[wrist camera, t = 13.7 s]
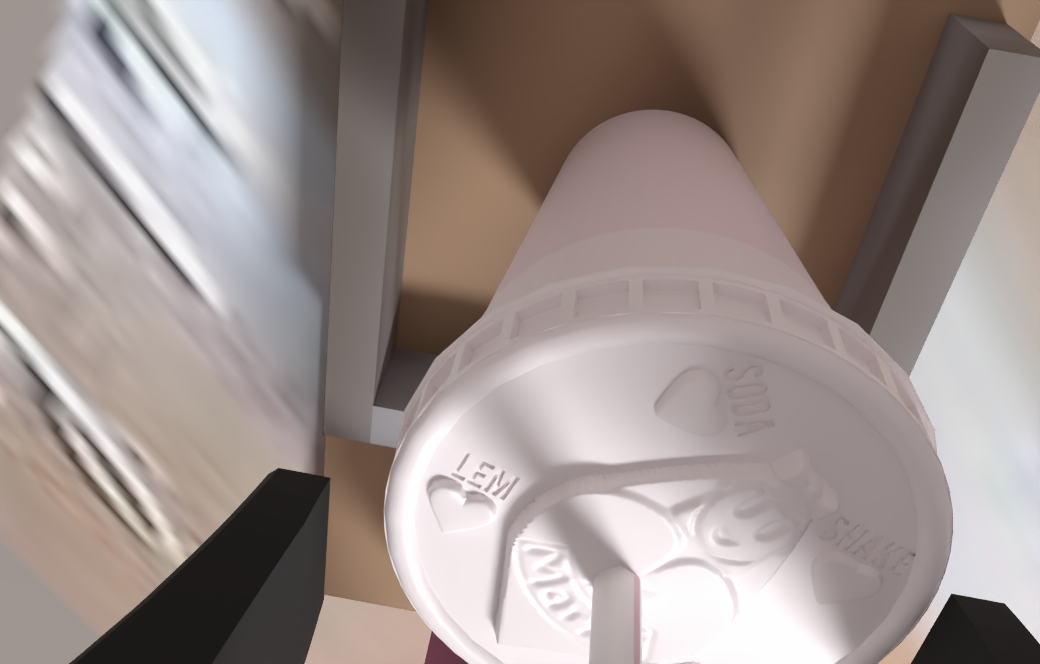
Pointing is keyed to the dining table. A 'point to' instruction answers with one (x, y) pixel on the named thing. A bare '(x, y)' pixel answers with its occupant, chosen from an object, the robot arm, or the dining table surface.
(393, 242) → the open-sided grey tray
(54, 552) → the dining table surface
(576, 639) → the smoothie
